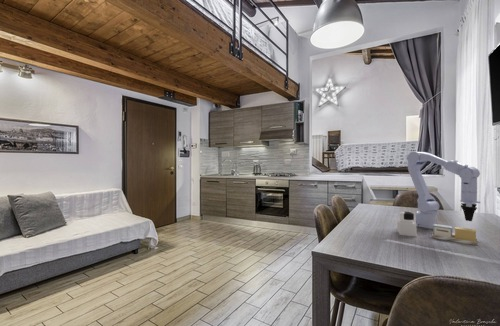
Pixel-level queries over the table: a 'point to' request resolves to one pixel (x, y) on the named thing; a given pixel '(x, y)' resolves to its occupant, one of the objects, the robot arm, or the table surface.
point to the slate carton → (442, 230)
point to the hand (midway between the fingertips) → (468, 219)
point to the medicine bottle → (406, 224)
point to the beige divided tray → (455, 239)
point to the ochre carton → (465, 234)
